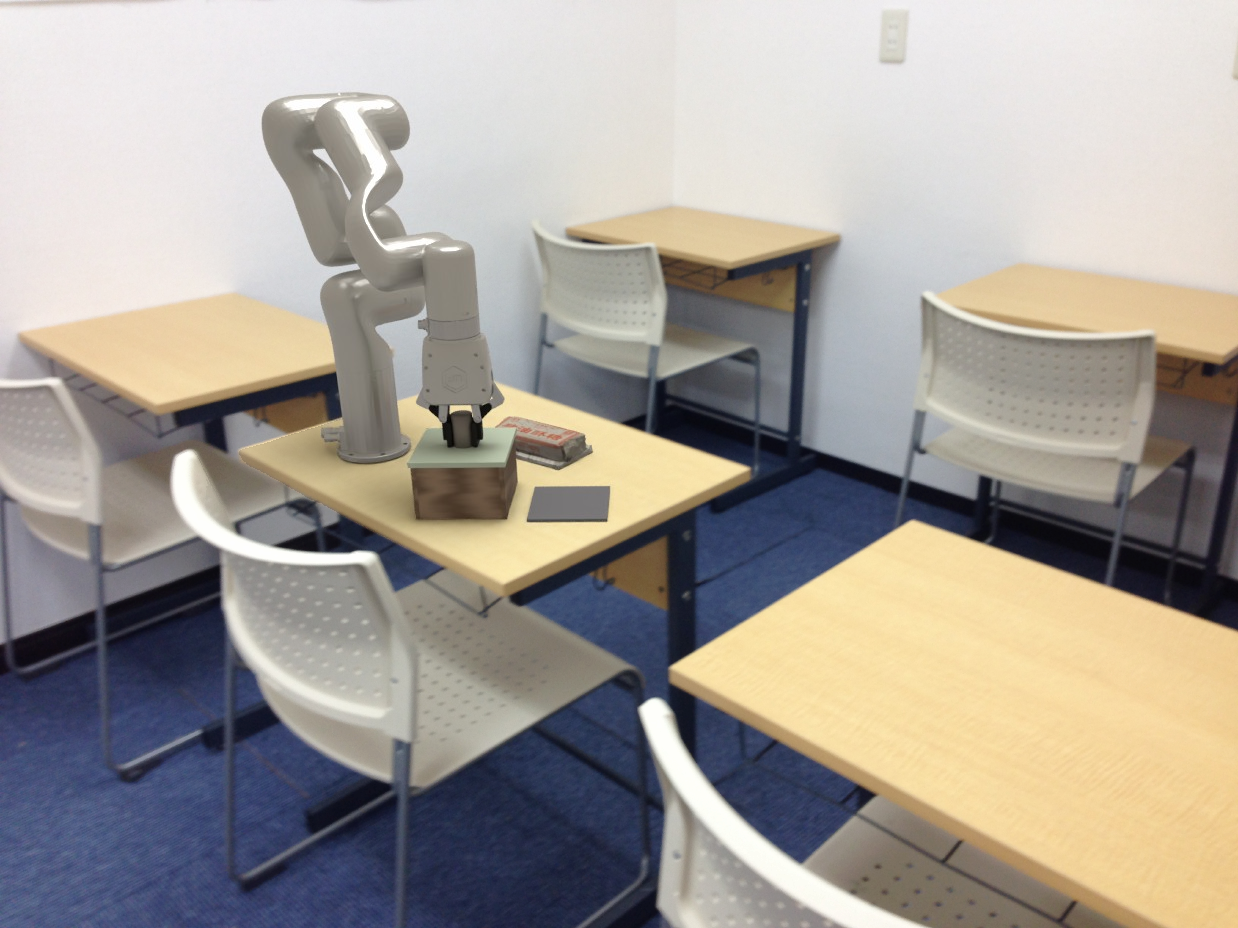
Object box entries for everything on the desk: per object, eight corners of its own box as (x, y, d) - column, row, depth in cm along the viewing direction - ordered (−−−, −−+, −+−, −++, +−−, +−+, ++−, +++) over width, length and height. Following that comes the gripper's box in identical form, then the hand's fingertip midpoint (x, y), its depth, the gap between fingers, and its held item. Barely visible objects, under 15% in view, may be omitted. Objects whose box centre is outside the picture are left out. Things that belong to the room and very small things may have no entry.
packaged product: (594, 427, 179) (558, 446, 171) (595, 453, 181) (559, 473, 173) (514, 408, 188) (477, 425, 181) (516, 433, 190) (479, 450, 183)
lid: (408, 475, 154) (403, 431, 151) (427, 439, 167) (423, 398, 164) (505, 474, 153) (502, 430, 150) (517, 439, 166) (514, 397, 164)
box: (415, 519, 157) (410, 467, 153) (433, 482, 169) (428, 433, 166) (506, 518, 156) (503, 466, 153) (517, 481, 169) (514, 432, 166)
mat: (526, 521, 155) (526, 519, 155) (535, 488, 166) (534, 486, 166) (607, 521, 155) (607, 518, 155) (610, 488, 166) (610, 485, 166)
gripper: (392, 335, 149) (405, 454, 156) (506, 333, 148) (514, 453, 155) (403, 321, 156) (415, 435, 163) (513, 320, 155) (520, 434, 162)
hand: (463, 443), depth 159 cm, fingers closed on lid, 3 cm apart
